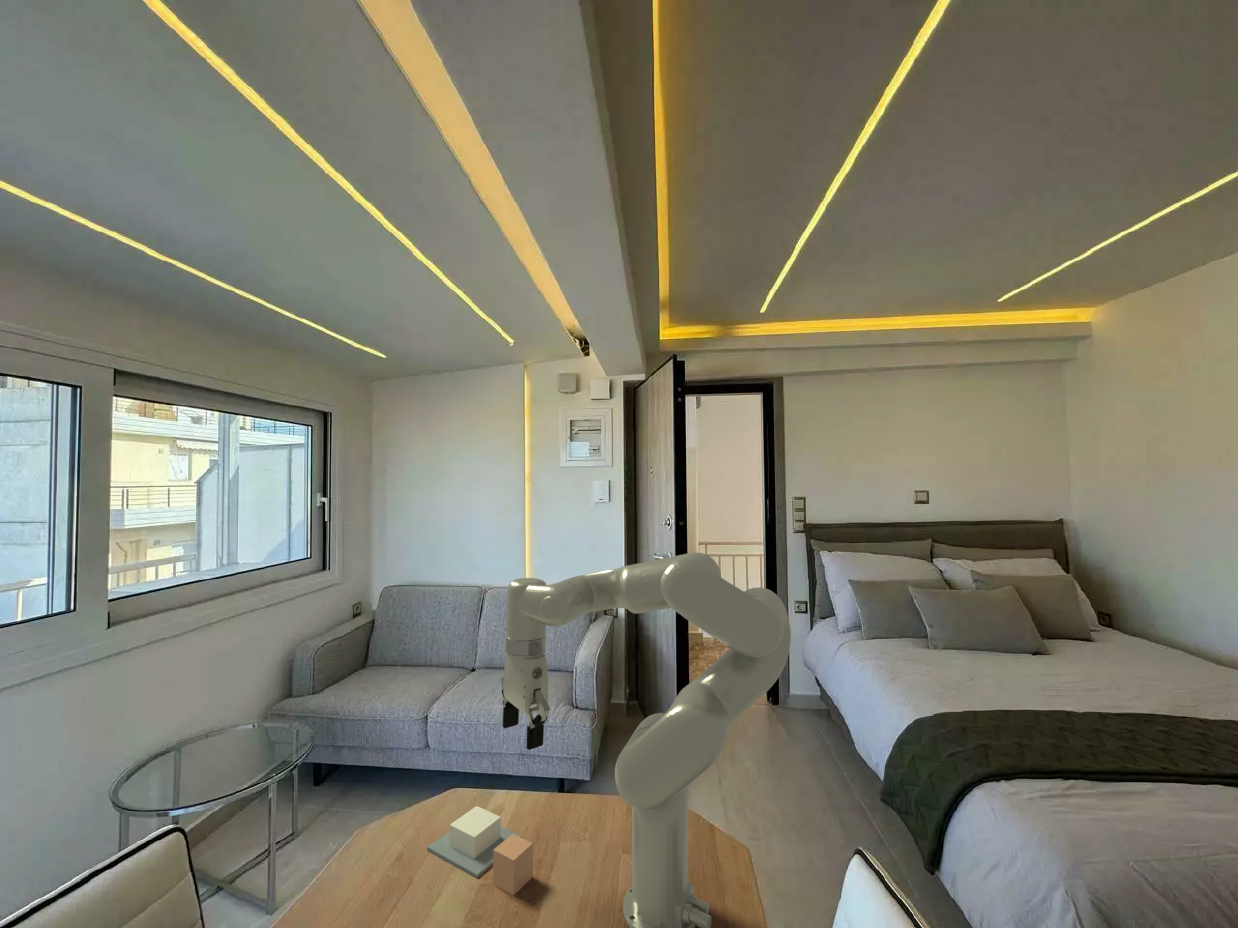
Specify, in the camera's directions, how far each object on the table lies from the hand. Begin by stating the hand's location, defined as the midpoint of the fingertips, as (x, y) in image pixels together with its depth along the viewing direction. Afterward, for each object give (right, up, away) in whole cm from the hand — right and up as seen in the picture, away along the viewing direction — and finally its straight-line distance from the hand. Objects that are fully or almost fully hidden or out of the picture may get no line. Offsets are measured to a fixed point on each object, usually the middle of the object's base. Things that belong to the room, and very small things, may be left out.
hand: (522, 736), depth 95 cm
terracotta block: (-1, -24, -4) cm, 25 cm away
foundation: (-11, -25, +6) cm, 28 cm away
